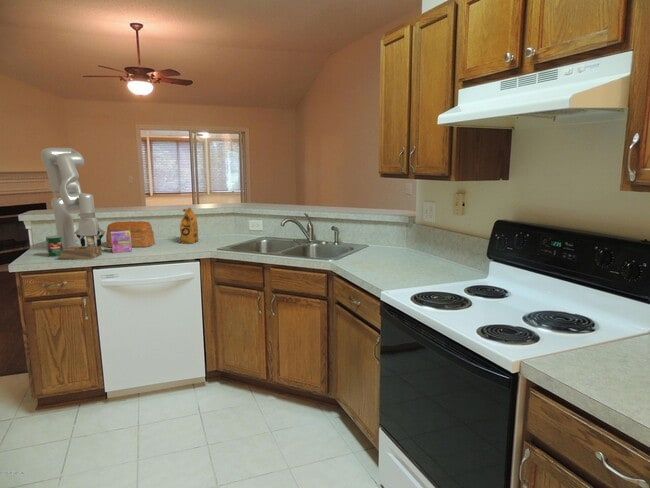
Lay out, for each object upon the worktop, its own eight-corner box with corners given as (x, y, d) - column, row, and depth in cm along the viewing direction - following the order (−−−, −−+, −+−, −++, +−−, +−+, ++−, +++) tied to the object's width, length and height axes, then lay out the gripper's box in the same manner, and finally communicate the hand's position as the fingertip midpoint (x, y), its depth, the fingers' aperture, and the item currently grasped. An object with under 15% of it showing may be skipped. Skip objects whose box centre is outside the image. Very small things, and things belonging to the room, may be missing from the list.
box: (112, 253, 259) (110, 233, 257) (112, 251, 264) (110, 231, 262) (132, 251, 264) (130, 231, 262) (131, 249, 269) (129, 230, 267)
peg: (90, 252, 263) (88, 235, 261) (97, 252, 263) (95, 235, 261) (86, 253, 259) (84, 236, 257) (93, 253, 259) (92, 236, 257)
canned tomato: (59, 253, 260) (57, 234, 258) (67, 255, 256) (65, 235, 254) (45, 256, 253) (42, 237, 251) (53, 257, 249) (50, 238, 247)
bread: (148, 247, 276) (146, 223, 273) (104, 248, 276) (101, 223, 273) (156, 243, 289) (154, 220, 287) (115, 243, 290) (112, 220, 287)
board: (73, 255, 255) (72, 246, 254) (101, 254, 256) (100, 246, 255) (61, 259, 244) (60, 250, 243) (91, 259, 244) (90, 250, 243)
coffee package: (178, 243, 286) (175, 209, 282) (186, 240, 298) (183, 207, 294) (193, 244, 285) (191, 209, 281) (200, 240, 297) (198, 207, 293)
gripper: (68, 216, 253) (72, 247, 256) (100, 216, 253) (103, 246, 257) (75, 215, 260) (79, 245, 264) (106, 214, 261) (109, 244, 264)
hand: (91, 245), depth 260 cm, fingers open, 8 cm apart
